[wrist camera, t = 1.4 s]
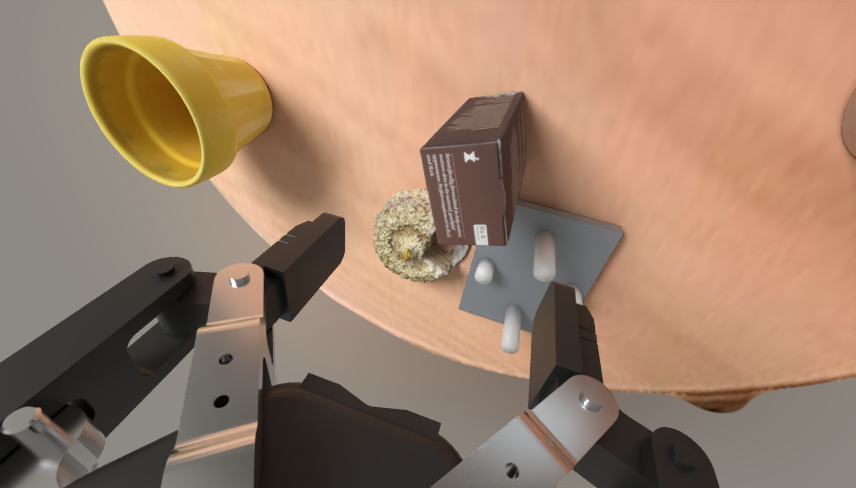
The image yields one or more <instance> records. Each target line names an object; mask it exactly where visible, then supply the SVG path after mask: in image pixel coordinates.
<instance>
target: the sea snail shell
mask: <svg viewBox="0 0 856 488" xmlns="http://www.w3.org/2000/svg"><path fill="white" fill-rule="evenodd" d="M415 188H416V187H415ZM377 216H378V217H377V218H376V221H375V222H377V223H376V226H374V232H375V235H374V236H373V244H374V245H375V251H376V253H378V254H379V258H380V260H381V261H382V262H384V267H386V268H388V269H389V270H391V271H392V272H393V273H394V274H395V273H396V274H398V275H399V274H400V275H401V278H405V279H410V280H411V281H414V282H416V281H419V282H420V281H422V282H423V283H424V282H425V281H428V280H429V281H430V282H433V281H434V280H435V279H438V278H441V277H442V276H444V275H448V273H449V272H450V269H451V268H452V267H455V266H456V265H457V264H458V262H459V261H461V260H462V259H463V257H464V256H465V255H466V253H467V250H468V249H469V245H455V247H454V248H453V250H452V251H451V252H450V253H448V252H447V251H444V250H442V249H441V248H440V247H438V246H437V245H433V244H432V243H431V242H432V240H433V237H434V236H433V234H434V233H435V232H436V229H435V225H434V220H433V215H432V210H431V205H430V200H429V195H428V190H427V189H426V188H425V190H424V191H422V190H421V189H417V190H416V189H415V190H413V191H410V190H408V191H407V190H405V191H403V193H402V192H399V193H398V194H395V196H394V197H392V198H391V197H389V198H388V200H387V203H384V205H383V209H382V212H380V213H379V214H377Z"/></svg>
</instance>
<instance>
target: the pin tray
mask: <svg viewBox="0 0 856 488" xmlns="http://www.w3.org/2000/svg"><path fill="white" fill-rule="evenodd" d="M622 235H623V231H622V228H621V226H618V225H614V224H610V223H606V222H603V221H599V220H595V219H591V218H587V217H584V216H580V215H576V214H572V213H569V212H565V211H561V210H557V209H553V208H550V207H546V206H542V205H538V204H534V203H531V202H527V201H523V200H519V199H518V201H517V205H516V209H515V214H514V220H513V224H512V228H511V233H510V237H509V241H508V244H507V246H488V245H477V247H476V250H475V254H474V257H473V261H472V264H471V268H470V271H469V274H468V278H467V281H466V285H465V288H464V292H463V295H462V299H461V302H460V306H459V309H460V310H463V311H466V312H469V313H472V314H475V315H478V316H481V317H485V318H488V319H491V320H494V321H497V322H500V323H503V324H504V327H503V334H502V341H501V349H502V350H503V351H504V352H506V353H510V354H513V353H516V352H518V350H519V339H520V329H522V330H525V331H528V332H531V333H532V326H533V320H534V317H535V313H536V311H537V309H538V307H539V305H540V303H541V301H542V299H543V297H544V295H545V293H546V291H547V289H548V287H549V285H550V283H551V282H552V281H554V282H558V283H561V284H564V285H568V286H571V287H574V288H575V294H576V303H577V304H581V305H583V304H582V302H583V300H584V298H585V297H586V295H587V293H588V292H589V290H590V288H591V287H592V285H593V283H594V282H595V280H596V278H597V277H598V275H599V273H600V272H601V270H602V268H603V267H604V265H605V263H606V262H607V260H608V258H609V257H610V255H611V253H612V252H613V250H614V248H615V247H616V245H617V243H618V242H619V240H620V238H621V237H622Z"/></svg>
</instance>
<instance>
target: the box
mask: <svg viewBox="0 0 856 488" xmlns="http://www.w3.org/2000/svg"><path fill="white" fill-rule="evenodd" d="M420 153H421V158H422V164H423V169H424V175H425V180H426V186H427V190H428V195H429V200H430V205H431V210H432V215H433V220H434V225H435V229H436V235H437V239H438V243H439V244H450V245H488V246H507V244H508V241H509V237H510V233H511V228H512V224H513V220H514V214H515V209H516V205H517V201H518V197H519V192H520V188H521V183H522V178H523V174H524V169H525V160H526V159H525V117H524V94H523V92H510V93H503V94H496V95H490V96H483V97H475V98H469V99H468V100H467V101H466V102H465V103H464V104H463V105H462V106H461V107H460V108H459V109H458V110H457V112H456V113H454V115H453V116H452V117H451V118H450V119H449V120H448V121H447V122H446V123H445V124H444V125H443V126H442V127H441V128H440V129H439V130H438V131H437V132H436V133H435V134H434V135H433V136H432V138H431V139H429V141H428V142H427V143H426V144H425V145H424V146H423V147H422V148H421V149H420Z"/></svg>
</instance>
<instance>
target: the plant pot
mask: <svg viewBox="0 0 856 488" xmlns="http://www.w3.org/2000/svg"><path fill="white" fill-rule="evenodd" d="M80 75H81V76H80V77H81V83H82V88H83V92H84V95H85V98H86V100H87V103H88V106H89V108H90V110H91V112H92V114H93V116H94V118H95V120H96V122H97V123H98V125H99V126H100V128H101V130H102V131H103V133H104V134H105V136H106V137H107V138H108V140H109V141H110V142H111V143H112V145H113V146H114V147H115V148H116V149H117V150H118V152H119V153H120V154H121V155H122V156H123V157H124V158H125V159H126V160H127V161H128V162H129V163H131V164H132V165H133V166H134V167H135V168H136V169H138V170H139V171H140V172H142V173H143V174H145V175H146V176H148V177H149V178H151V179H153V180H155V181H157V182H159V183H161V184H164V185H167V186H171V187H177V188H184V187H191V186H193V185H196V184H198V183H201V182H202V181H205V180H207V179H209V178H211V177H213V176H215V175H217V174H219V173H221V172H223V171H224V170H226V169H227V168H228V167H229V166H230V165H231V164H232V162H233V160H234V158H235V156H236V152H238V151H239V150H240V149H241V148H243V147H244V146H245V145H246V144H248V143H249V142H250V141H251V140H253V139H254V138H255V137H256V136H258V135H259V134H260V133H261V132H263V131H264V130H265V129H266V128H267V127H268V125H269V124H270V122H271V119H272V113H273V105H272V100H271V96H270V93H269V90H268V88H267V86H266V84H265V82H264V80H263V79H262V77H261V76H260V75H259V74H258V73H257V71H256V70H255V69H254V68H253V67H251V66H250V65H249V64H247V63H246V62H244V61H242V60H240V59H238V58H234V57H229V56H223V55H217V54H211V53H205V52H200V51H194V50H189V49H185V48H184V47H182V46H181V45H179V44H177V43H175V42H173V41H171V40H168V39H165V38H162V37H157V36H142V35H122V36H104V37H100V38H97V39H95V40H93V41H92V42H90V43H89V44H88V46H87V47H86V48H85V50H84V52H83V54H82V57H81V62H80Z"/></svg>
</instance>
